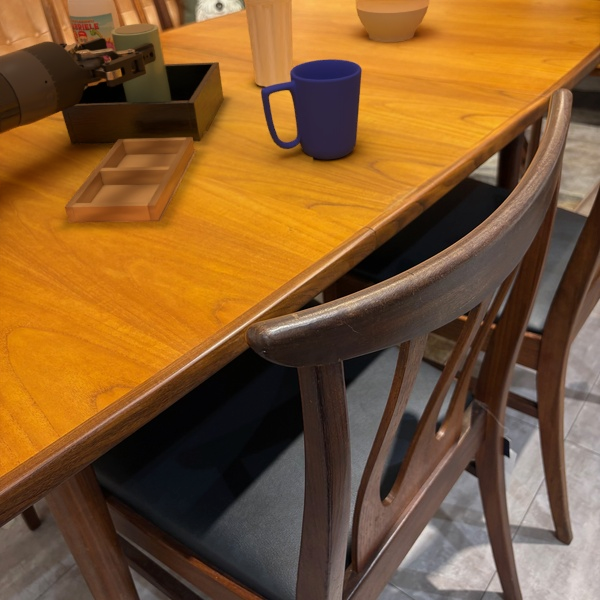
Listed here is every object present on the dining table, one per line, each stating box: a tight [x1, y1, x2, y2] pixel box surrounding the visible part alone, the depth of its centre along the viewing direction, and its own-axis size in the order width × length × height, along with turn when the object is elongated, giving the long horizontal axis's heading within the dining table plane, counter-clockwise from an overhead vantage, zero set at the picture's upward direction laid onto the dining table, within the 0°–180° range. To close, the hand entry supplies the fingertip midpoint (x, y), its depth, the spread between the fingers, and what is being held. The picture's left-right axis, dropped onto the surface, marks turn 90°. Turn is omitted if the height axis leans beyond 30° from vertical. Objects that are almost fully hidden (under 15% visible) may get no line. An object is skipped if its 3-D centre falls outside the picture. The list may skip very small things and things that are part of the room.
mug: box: [260, 58, 363, 160], centre depth 73 cm, size 8×12×10 cm
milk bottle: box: [66, 0, 121, 63], centre depth 101 cm, size 8×8×20 cm
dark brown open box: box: [61, 61, 225, 145], centre depth 87 cm, size 18×18×6 cm
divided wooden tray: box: [64, 137, 197, 223], centre depth 70 cm, size 10×18×2 cm, turn 176°
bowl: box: [355, 0, 430, 43], centre depth 117 cm, size 16×16×8 cm
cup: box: [243, 0, 294, 88], centre depth 95 cm, size 8×8×14 cm
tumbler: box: [111, 23, 172, 102], centre depth 84 cm, size 6×6×12 cm
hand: (128, 48), depth 81 cm, fingers open, 8 cm apart
